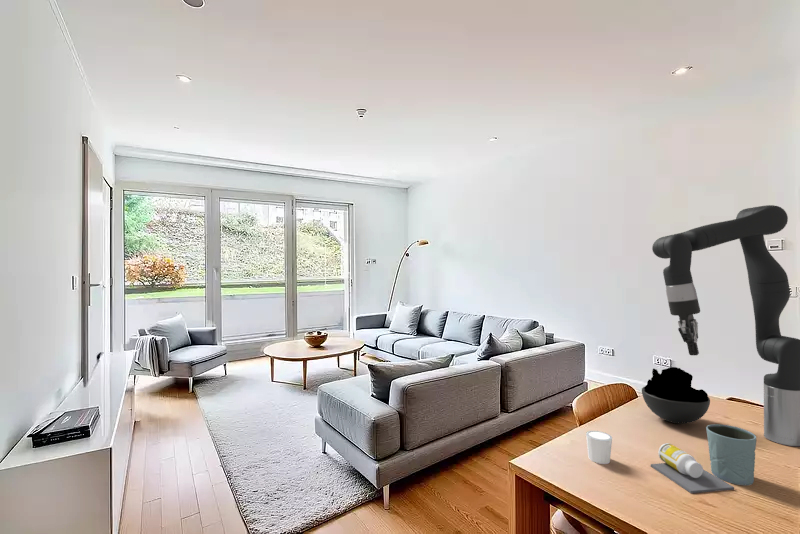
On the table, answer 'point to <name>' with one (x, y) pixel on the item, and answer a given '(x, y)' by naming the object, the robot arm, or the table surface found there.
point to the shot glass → (599, 446)
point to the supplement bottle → (680, 460)
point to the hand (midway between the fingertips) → (694, 354)
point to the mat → (693, 480)
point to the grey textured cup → (732, 453)
